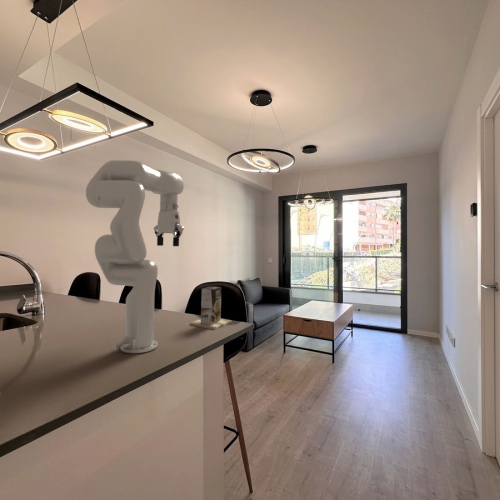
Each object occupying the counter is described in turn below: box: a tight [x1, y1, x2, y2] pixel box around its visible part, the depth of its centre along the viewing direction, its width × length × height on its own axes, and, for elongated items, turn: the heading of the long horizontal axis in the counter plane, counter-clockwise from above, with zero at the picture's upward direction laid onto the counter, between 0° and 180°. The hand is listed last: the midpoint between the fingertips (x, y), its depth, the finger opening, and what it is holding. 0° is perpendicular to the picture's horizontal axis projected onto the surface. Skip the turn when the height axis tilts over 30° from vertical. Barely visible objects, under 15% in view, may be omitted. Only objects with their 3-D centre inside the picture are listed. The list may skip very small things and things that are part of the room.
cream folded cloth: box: [189, 318, 233, 330], centre depth 136 cm, size 14×14×1 cm
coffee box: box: [200, 286, 222, 325], centre depth 136 cm, size 9×6×16 cm
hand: (167, 245), depth 130 cm, fingers open, 9 cm apart
